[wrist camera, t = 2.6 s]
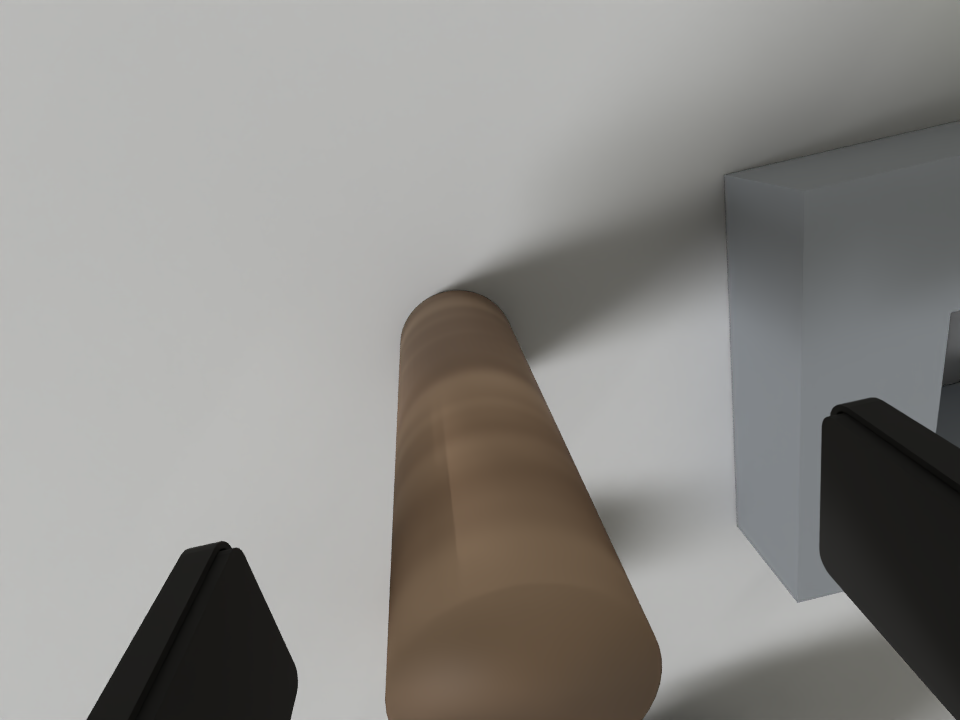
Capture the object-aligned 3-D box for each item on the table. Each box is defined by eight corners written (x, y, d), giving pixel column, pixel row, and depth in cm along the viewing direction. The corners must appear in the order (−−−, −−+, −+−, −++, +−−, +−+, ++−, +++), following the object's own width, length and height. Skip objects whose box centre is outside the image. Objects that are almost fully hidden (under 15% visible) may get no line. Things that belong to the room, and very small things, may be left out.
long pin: (387, 305, 16) (349, 625, 6) (501, 278, 16) (649, 552, 6) (416, 406, 17) (423, 807, 7) (521, 381, 18) (671, 746, 7)
